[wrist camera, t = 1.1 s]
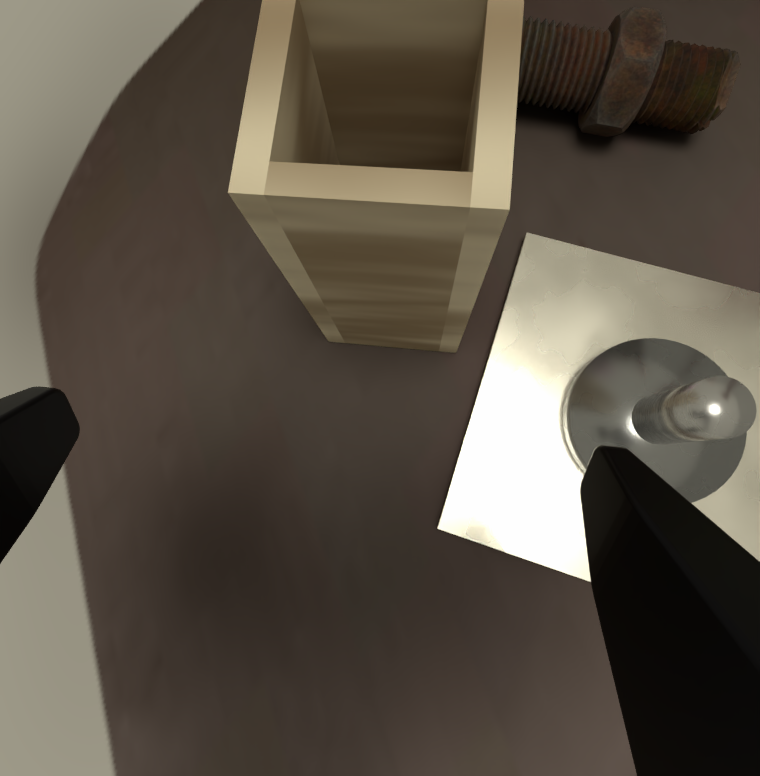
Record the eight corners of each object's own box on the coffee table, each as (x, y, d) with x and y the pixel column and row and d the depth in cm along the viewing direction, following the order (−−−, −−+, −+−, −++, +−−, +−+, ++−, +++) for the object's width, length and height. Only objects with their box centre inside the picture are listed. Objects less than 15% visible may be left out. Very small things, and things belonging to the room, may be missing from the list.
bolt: (668, 164, 24) (390, 113, 25) (711, 51, 22) (409, 0, 23) (730, 147, 19) (373, 83, 20) (793, -4, 17) (395, -65, 18)
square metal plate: (775, 644, 18) (931, 721, 13) (436, 526, 20) (445, 549, 14) (836, 320, 20) (995, 266, 15) (523, 238, 22) (560, 162, 16)
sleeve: (456, 352, 21) (509, 209, 9) (328, 341, 22) (228, 192, 10) (466, 232, 22) (526, -34, 10) (344, 224, 23) (269, -38, 11)
